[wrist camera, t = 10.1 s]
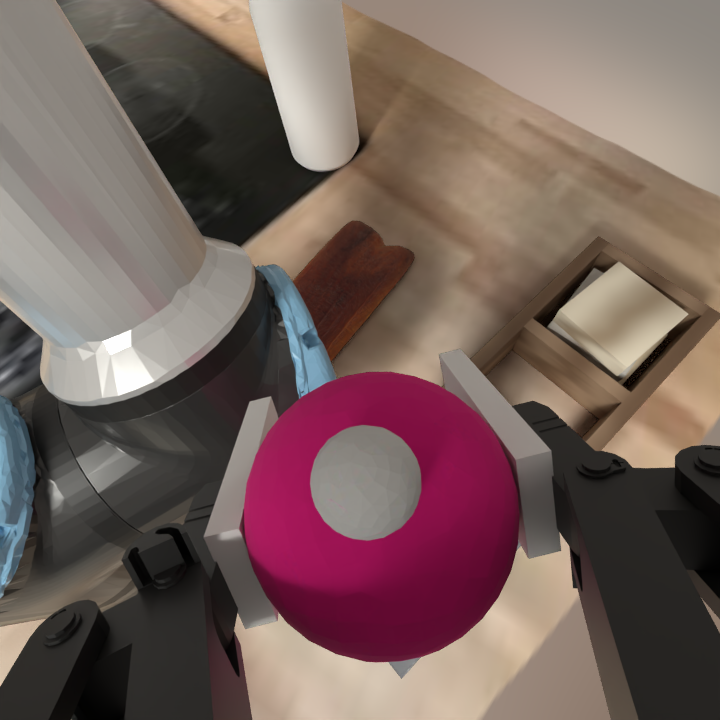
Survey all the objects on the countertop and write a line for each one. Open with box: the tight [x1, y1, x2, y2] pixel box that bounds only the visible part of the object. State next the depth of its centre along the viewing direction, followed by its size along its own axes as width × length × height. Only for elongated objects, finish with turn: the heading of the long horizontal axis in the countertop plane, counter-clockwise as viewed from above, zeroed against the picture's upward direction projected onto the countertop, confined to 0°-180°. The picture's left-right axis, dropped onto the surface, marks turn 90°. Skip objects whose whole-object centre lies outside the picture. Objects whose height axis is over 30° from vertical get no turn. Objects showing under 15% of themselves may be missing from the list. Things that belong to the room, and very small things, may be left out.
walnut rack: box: [442, 236, 720, 451], centre depth 41 cm, size 12×24×5 cm, turn 133°
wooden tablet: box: [293, 221, 414, 361], centre depth 49 cm, size 27×10×2 cm, turn 142°
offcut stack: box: [546, 262, 688, 385], centre depth 42 cm, size 9×9×6 cm
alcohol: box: [249, 0, 359, 172], centre depth 45 cm, size 9×9×30 cm
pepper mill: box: [244, 372, 520, 662], centre depth 16 cm, size 7×7×20 cm
